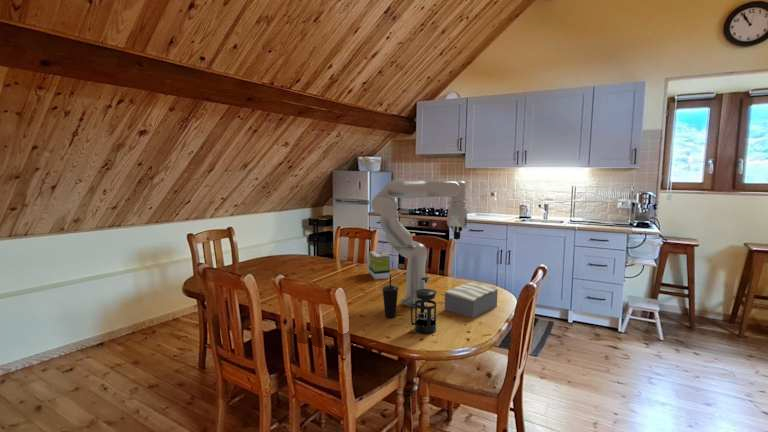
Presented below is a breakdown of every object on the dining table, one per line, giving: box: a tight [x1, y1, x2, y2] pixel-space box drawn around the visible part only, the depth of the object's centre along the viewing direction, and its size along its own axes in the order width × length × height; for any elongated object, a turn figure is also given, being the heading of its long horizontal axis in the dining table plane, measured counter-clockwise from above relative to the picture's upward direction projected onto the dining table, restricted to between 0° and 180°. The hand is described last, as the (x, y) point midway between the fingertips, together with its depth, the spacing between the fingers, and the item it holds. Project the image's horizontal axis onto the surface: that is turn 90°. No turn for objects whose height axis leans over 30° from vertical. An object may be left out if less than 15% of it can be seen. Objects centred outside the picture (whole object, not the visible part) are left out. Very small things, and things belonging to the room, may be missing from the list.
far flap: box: [458, 282, 498, 295], centre depth 206 cm, size 11×16×1 cm
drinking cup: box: [381, 274, 400, 319], centre depth 191 cm, size 8×8×20 cm
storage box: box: [444, 291, 498, 319], centre depth 203 cm, size 22×16×8 cm
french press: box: [410, 276, 437, 335], centre depth 175 cm, size 12×9×23 cm
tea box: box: [368, 250, 391, 280], centre depth 259 cm, size 15×10×15 cm, turn 17°
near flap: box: [444, 285, 486, 301], centre depth 198 cm, size 11×16×1 cm
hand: (456, 239), depth 217 cm, fingers closed
